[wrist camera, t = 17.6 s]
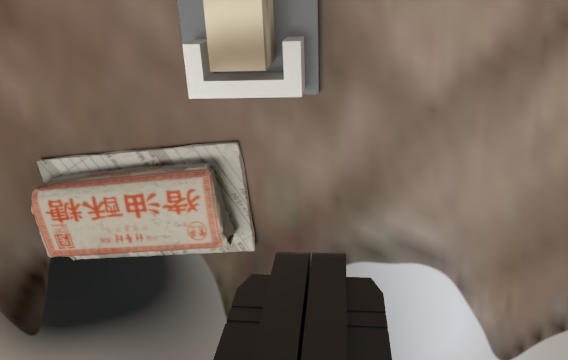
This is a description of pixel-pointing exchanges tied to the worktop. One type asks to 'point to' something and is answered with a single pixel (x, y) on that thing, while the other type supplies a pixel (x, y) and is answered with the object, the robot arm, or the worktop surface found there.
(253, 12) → the slat
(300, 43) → the board
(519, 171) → the worktop surface
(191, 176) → the packaged product
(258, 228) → the worktop surface
